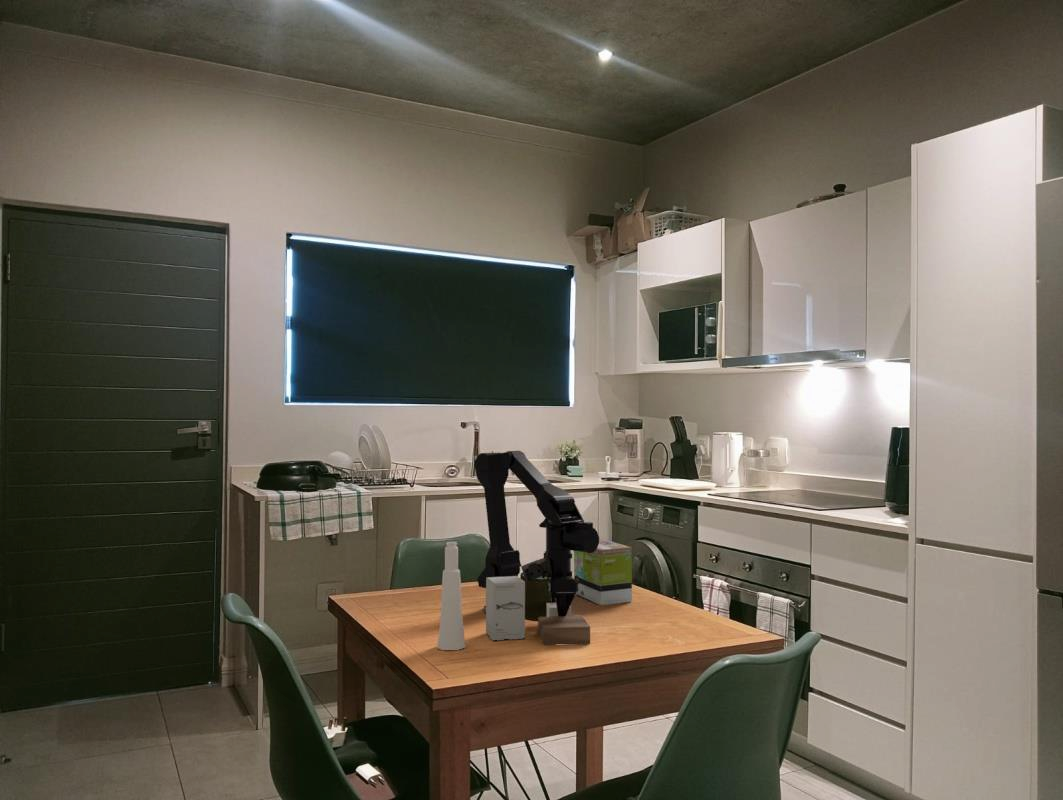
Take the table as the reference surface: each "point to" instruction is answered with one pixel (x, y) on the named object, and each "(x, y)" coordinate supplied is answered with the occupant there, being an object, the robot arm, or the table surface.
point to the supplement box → (505, 608)
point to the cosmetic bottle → (451, 603)
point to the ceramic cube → (555, 610)
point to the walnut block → (563, 630)
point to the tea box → (605, 573)
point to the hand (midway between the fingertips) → (558, 615)
